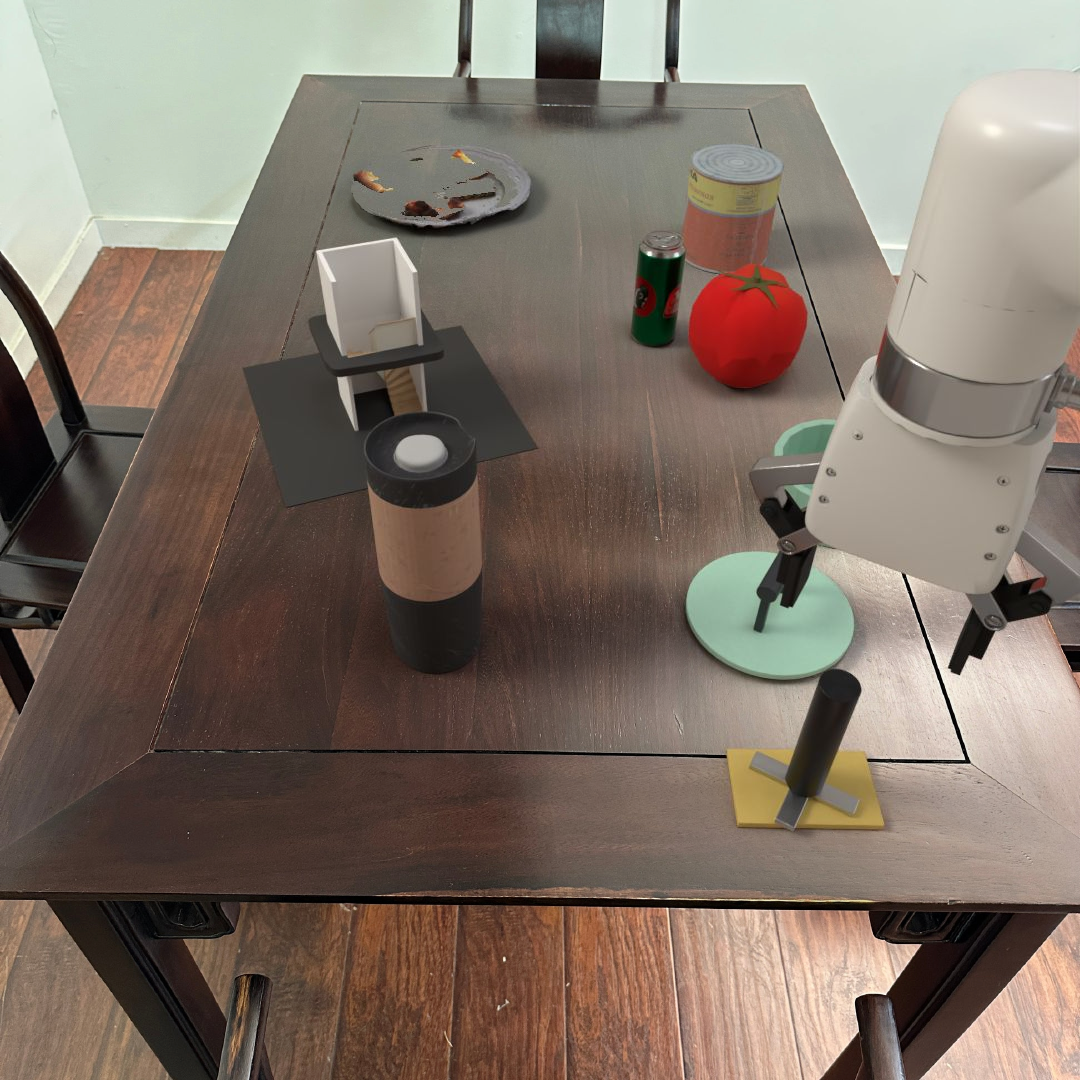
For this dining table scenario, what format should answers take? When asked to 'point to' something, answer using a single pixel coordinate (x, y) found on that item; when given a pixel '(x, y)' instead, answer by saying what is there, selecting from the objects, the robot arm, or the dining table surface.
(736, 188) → the canned food
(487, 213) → the food plate
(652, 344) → the soda can
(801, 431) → the bowl
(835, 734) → the black and grey rod
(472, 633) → the travel mug
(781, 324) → the tomato
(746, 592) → the lid
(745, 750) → the mat
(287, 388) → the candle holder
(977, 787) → the dining table surface
